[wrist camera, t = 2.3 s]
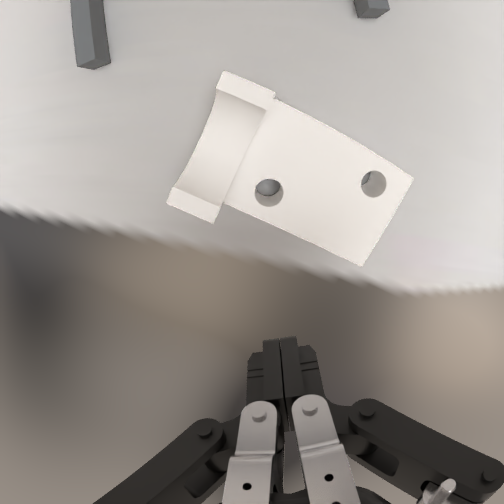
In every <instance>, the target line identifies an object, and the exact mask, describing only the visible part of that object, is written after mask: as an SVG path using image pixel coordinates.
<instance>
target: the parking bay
mask: <svg viewBox="0 0 504 504" xmlns="http://www.w3.org/2000/svg"><path fill="white" fill-rule="evenodd" d="M70 2H71V16H72V28H73V38H74V46H75V54H76V62H77V67H82V68H88V69H93V70H94V69H96V68H99V67H101V66H104V65H106V64H109V63H111V62H110V55H109V48H108V42H107V34H106V26H105V18H104V9H103V0H70ZM354 3H355V7H356V11H357V15H358V18H378V17H380V16H381V15H383V14H384V13H385V12H387V11H388V10H390V8H389V4H388V0H354Z"/></svg>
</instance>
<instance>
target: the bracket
mask: <svg viewBox="0 0 504 504" xmlns="http://www.w3.org/2000/svg"><path fill="white" fill-rule="evenodd" d="M275 93H276V92H273V91H271V90H269V89H267V88H265V87H262V86H260V85H258V84H256V83H253V82H251V81H249V80H246V79H244V78H242V77H239V76H237V75H234V74H232V73H229V72H227V71H223V73H222V75H221V77H220V79H219V82H218V84H217V86H216V97H215V101H214V104H213V108H212V110H211V113H210V116H209V118H208V121H207V123H206V126H205V128H204V131H203V133H202V135H201V137H200V139H199V142H198V144H197V146H196V148H195V150H194V152H193V154H192V156H191V158H190V160H189V162H188V164H187V166H186V167H185V169H184V171H183V173H182V174H181V176H180V178H179V179H178V181H177V182H176V183H175V184H174V186H173V187H172V189H171V192H170V194H169V197H168V200H167V202H166V204H168V205H171V206H173V207H175V208H178V209H180V210H182V211H184V212H187V213H189V214H191V215H194V216H196V217H198V218H201V219H203V220H205V221H208V222H210V223H212V224H214V221H215V219H216V217H217V215H218V212H219V210H220V208H221V206H222V203H224V204H227V205H229V206H231V207H233V208H236V209H238V210H240V211H242V212H245V213H247V214H249V215H251V216H253V217H256V218H258V219H260V220H262V221H265V222H267V223H269V224H271V225H273V226H276V227H278V228H280V229H282V230H284V231H286V232H289V233H291V234H293V235H295V236H297V237H299V238H302V239H304V240H306V241H308V242H310V243H312V244H314V245H317V246H319V247H321V248H323V249H325V250H327V251H329V252H331V253H333V254H336V255H338V256H340V257H342V258H344V259H346V260H348V261H350V262H352V263H354V264H356V265H359V266H361V267H362V266H363V264H364V263H365V261H366V260H367V258H368V256H369V255H370V253H371V252H372V250H373V248H374V247H375V245H376V244H377V242H378V240H379V239H380V237H381V235H382V234H383V232H384V230H385V229H386V227H387V225H388V224H389V222H390V220H391V219H392V217H393V215H394V213H395V212H396V210H397V208H398V207H399V205H400V203H401V201H402V199H403V198H404V196H405V194H406V192H407V191H408V189H409V187H410V185H411V183H412V181H413V180H414V178H413V177H411V176H410V175H408V174H407V173H405V172H404V171H402V170H401V169H399V168H398V167H396V166H395V165H393V164H392V163H390V162H389V161H387V160H386V159H384V158H382V157H381V156H379V155H378V154H376V153H374V152H373V151H371V150H369V149H368V148H366V147H365V146H363V145H361V144H360V143H358V142H356V141H354V140H353V139H351V138H349V137H347V136H346V135H344V134H342V133H340V132H339V131H337V130H335V129H333V128H331V127H330V126H328V125H326V124H324V123H322V122H320V121H318V120H317V119H315V118H313V117H311V116H309V115H307V114H305V113H303V112H301V111H299V110H297V109H295V108H293V107H291V106H289V105H287V104H285V103H283V102H281V101H278V100H276V99H274V98H273V97H274V95H275ZM369 171H370V178H369V180H368V182H367V183H366V184H364V185H362V186H361V181H362V178H363V176H364V175H365V174H366V173H368V172H369ZM264 179H274V180H276V181H278V182H279V183H280V184H281V186H280V189H279V191H278V192H277V193H276V194H275V195H272V196H263V195H261V194H259V193H258V192H257V190H256V186H257V184H258V183H259V182H260V181H262V180H264Z"/></svg>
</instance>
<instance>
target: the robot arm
mask: <svg viewBox="0 0 504 504" xmlns="http://www.w3.org/2000/svg"><path fill="white" fill-rule="evenodd" d="M280 342H281V347H280ZM288 416H289V420H288ZM289 422H290V427H291V431H294V430H295V435H296V442H297V448H298V453H299V458H300V463H301V469H302V474H303V479H304V485H305V489H304V490H301V491H298V492H295V493H292V494H284V489H283V475H284V444H285V438H284V432H287V431H289ZM346 454H348V456H349V457H350V458H351V459H353V460H354V461H357V463H359V464H361V465H362V466H364V467H365V468H367V469H368V470H370V471H371V472H373V473H375V474H376V475H378V476H379V477H381V478H383V479H384V480H386V481H387V482H389V483H391V484H393V485H394V486H396V487H397V488H399V489H401V490H403V491H404V492H406V493H408V494H409V495H411V496H413V497H415V498H416V499H418V500H417V502H416V504H483V503H484V502H485V501H487V500H488V499H489V498H490V497H491V496H492V495H493V494H494V493H495V492H496V491H497V490H498V489H499V488H500V487H501V486H502V485H503V483H504V465H503V464H502V463H501V462H500V461H498V460H496V459H494V458H491V457H489V456H486V455H485V454H482V453H480V452H478V451H476V450H474V449H472V448H470V447H467V446H465V445H463V444H461V443H459V442H457V441H455V440H453V439H451V438H449V437H446V436H445V435H442V434H441V433H439V432H436V431H435V430H433V429H431V428H429V427H427V426H425V425H423V424H421V423H419V422H417V421H415V420H413V419H411V418H409V417H407V416H405V415H404V414H402V413H400V412H398V411H396V410H394V409H392V408H391V407H388V406H387V405H385V404H383V403H381V402H379V401H377V400H375V399H362V400H359V401H358V402H356V403H354V404H353V405H352V406H340V405H336V404H333V403H331V402H330V401H329V400H328V399H327V398H326V397H325V394H324V390H323V386H322V381H321V376H320V371H319V366H318V362H317V357H316V352H315V351H314V350H313V349H312V348H311V347H310V346H309V345H306V346H300V347H298V345H297V339H296V336H292V337H285V338H280V341H279V338H278V339H271V340H264V341H263V352H257V353H253V354H252V355H251V357H250V359H249V360H248V372H247V399H246V407H245V408H244V409H243V411H242V413H241V414H240V415H239V416H238V417H236V418H235V419H232V420H230V421H227V422H224V423H219V422H218V421H216V420H214V419H208V418H206V419H201V420H198V421H196V422H195V423H193V424H192V425H191V426H190V427H189V428H188V429H187V430H185V431H184V432H183V433H182V434H181V435H179V436H178V437H177V438H176V439H175V440H174V441H172V442H171V443H170V444H169V445H168V446H167V447H165V448H164V449H163V450H162V451H161V452H159V453H158V454H157V455H156V456H154V457H153V458H152V459H151V460H149V461H148V462H147V463H146V464H144V465H143V466H142V467H141V468H140V469H138V470H137V471H136V472H135V473H133V474H132V475H131V476H129V477H128V478H127V479H125V480H124V481H123V482H121V483H120V484H119V485H118V486H116V487H115V488H113V489H112V490H111V491H109V492H108V493H107V494H105V495H104V496H103V497H102V498H100V499H99V500H97V501H96V502H94V503H93V504H201V503H202V502H204V501H205V500H206V498H208V497H209V496H210V495H211V494H212V493H213V492H214V491H215V490H216V489H217V488H218V487H219V486H220V485H222V483H224V482H225V481H226V482H225V488H224V495H223V501H222V503H219V504H391V503H389V502H388V501H386V500H385V499H383V498H382V497H381V496H379V495H377V494H376V493H374V492H372V491H370V490H368V489H365V488H362V487H357V486H355V482H354V479H353V476H352V472H351V469H350V466H349V462H348V459H347V456H346Z"/></svg>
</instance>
